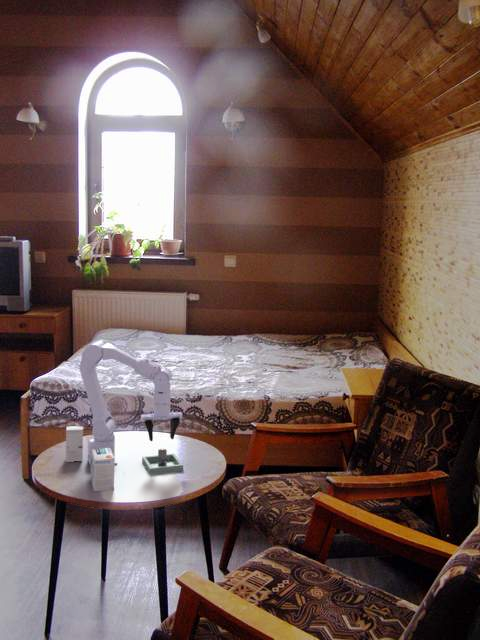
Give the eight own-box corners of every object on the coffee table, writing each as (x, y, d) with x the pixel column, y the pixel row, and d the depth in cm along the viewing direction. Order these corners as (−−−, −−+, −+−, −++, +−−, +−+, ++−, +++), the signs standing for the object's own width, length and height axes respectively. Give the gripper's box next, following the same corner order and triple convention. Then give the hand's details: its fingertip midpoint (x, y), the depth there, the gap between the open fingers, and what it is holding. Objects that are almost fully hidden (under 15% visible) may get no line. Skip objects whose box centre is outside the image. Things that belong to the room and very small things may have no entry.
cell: (159, 468, 234) (159, 451, 233) (157, 465, 237) (157, 448, 236) (167, 467, 235) (167, 450, 234) (165, 464, 238) (165, 447, 237)
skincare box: (65, 462, 237) (65, 430, 235) (65, 458, 241) (65, 426, 239) (83, 461, 238) (83, 429, 236) (83, 457, 242) (83, 425, 240)
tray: (149, 474, 228) (149, 468, 228) (142, 462, 239) (142, 456, 239) (183, 470, 233) (183, 465, 232) (174, 458, 244) (174, 453, 243)
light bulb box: (90, 479, 222) (90, 448, 221) (110, 477, 225) (110, 447, 223) (93, 491, 213) (93, 459, 211) (114, 489, 215) (115, 458, 213)
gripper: (144, 406, 227) (143, 444, 229) (184, 404, 232) (184, 441, 234) (140, 401, 233) (139, 438, 235) (179, 398, 238) (178, 434, 240)
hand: (161, 439), depth 235 cm, fingers open, 7 cm apart
